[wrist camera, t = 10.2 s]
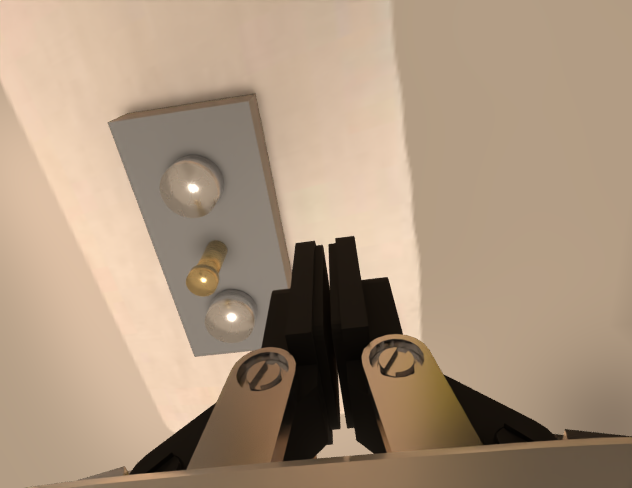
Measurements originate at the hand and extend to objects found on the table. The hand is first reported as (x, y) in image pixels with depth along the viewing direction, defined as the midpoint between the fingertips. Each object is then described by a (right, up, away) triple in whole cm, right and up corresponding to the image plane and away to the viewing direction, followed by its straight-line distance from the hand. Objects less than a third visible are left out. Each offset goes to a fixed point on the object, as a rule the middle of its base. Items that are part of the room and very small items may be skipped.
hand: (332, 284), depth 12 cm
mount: (-10, +3, +32) cm, 33 cm away
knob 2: (-9, -4, +35) cm, 36 cm away
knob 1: (-11, +8, +28) cm, 31 cm away
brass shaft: (-10, +1, +28) cm, 30 cm away
